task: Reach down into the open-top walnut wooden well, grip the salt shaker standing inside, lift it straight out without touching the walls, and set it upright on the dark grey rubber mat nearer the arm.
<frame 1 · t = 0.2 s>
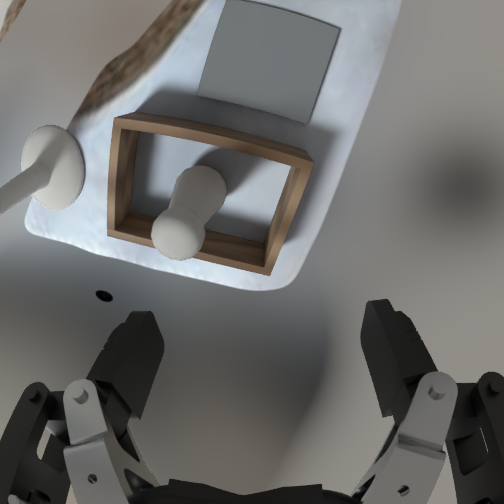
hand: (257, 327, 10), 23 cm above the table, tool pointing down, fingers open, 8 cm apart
salt shaker: (204, 183, 31), resting in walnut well
candlestick: (51, 167, 29), on the table
grey mat: (267, 57, 23), on the table
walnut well: (204, 183, 31), on the table
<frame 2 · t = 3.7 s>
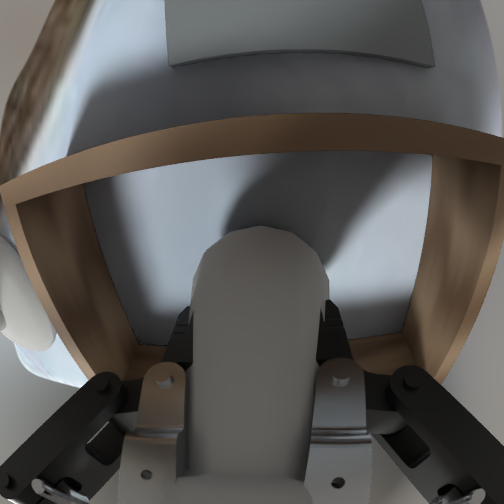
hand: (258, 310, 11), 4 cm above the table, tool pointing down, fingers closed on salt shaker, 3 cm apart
salt shaker: (261, 262, 14), resting in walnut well, touching gripper
candlestick: (9, 292, 17), on the table
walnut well: (261, 264, 14), on the table
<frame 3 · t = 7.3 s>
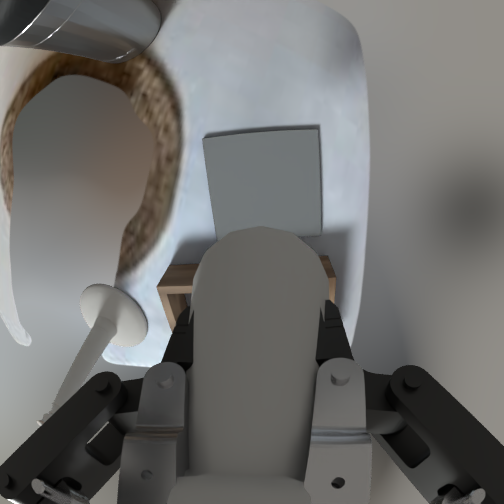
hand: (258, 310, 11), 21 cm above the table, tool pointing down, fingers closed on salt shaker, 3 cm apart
salt shaker: (261, 262, 14), point 17 cm above the table, touching gripper
candlestick: (113, 315, 40), on the table
grey mat: (264, 186, 29), on the table
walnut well: (251, 306, 37), on the table
when the fingers open (6 cm above the table, at t = 10.8 s): salt shaker drops 1 cm, resting on grey mat.
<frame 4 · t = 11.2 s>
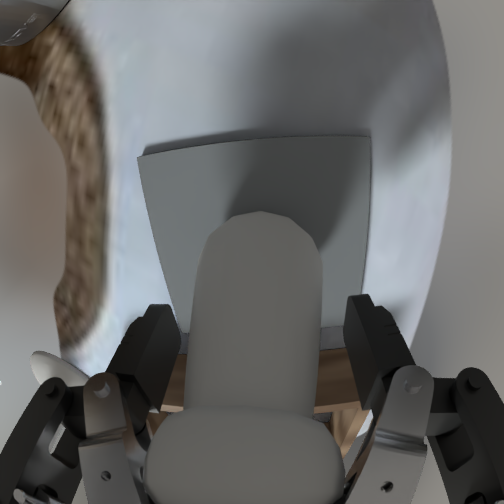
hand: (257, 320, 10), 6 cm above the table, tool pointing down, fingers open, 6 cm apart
salt shaker: (261, 249, 15), resting on grey mat
candlestick: (70, 384, 26), on the table
grey mat: (261, 246, 16), on the table
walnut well: (241, 401, 23), on the table
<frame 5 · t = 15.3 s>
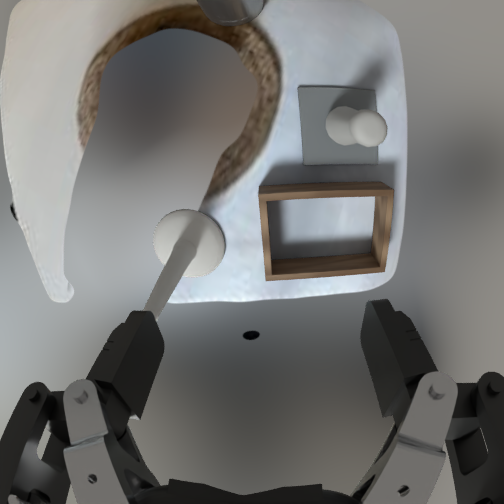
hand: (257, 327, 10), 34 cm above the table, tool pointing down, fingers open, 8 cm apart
salt shaker: (340, 125, 36), resting on grey mat
candlestick: (188, 243, 47), on the table
grey mat: (339, 125, 36), on the table
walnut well: (323, 224, 44), on the table
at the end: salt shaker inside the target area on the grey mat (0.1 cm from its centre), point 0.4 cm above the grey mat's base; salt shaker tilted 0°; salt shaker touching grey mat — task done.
